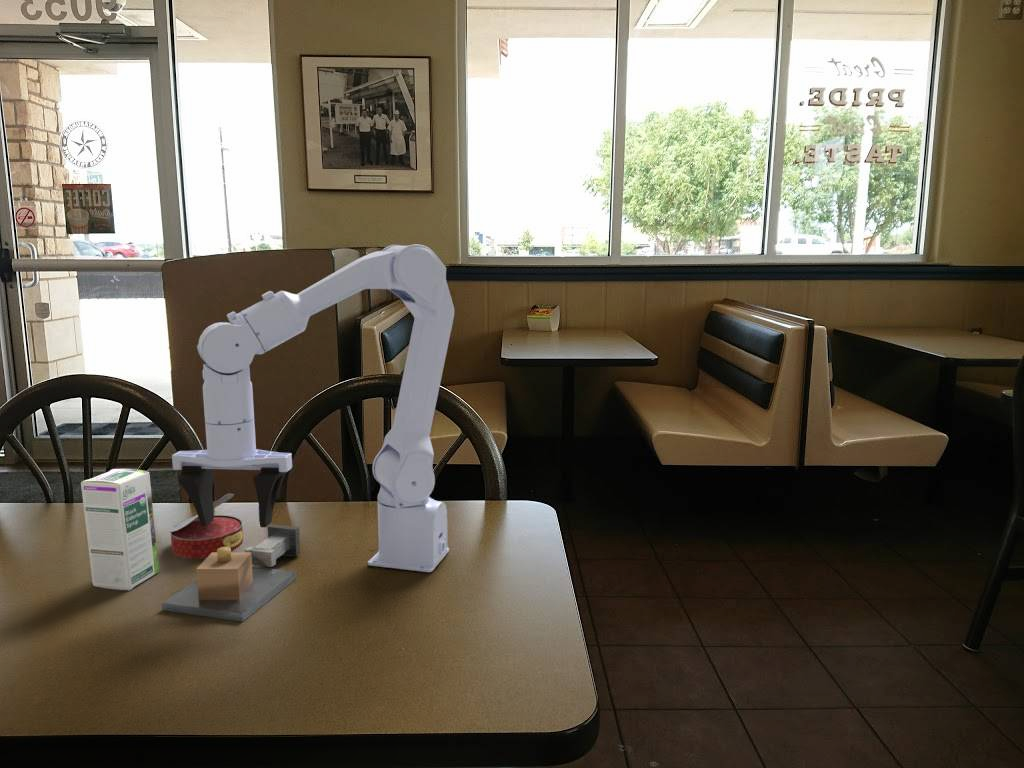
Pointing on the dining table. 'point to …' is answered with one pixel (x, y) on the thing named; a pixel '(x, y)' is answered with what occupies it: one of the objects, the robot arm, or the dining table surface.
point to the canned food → (206, 534)
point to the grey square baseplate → (237, 610)
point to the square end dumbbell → (276, 545)
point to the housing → (224, 575)
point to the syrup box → (120, 528)
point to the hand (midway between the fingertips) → (236, 523)
